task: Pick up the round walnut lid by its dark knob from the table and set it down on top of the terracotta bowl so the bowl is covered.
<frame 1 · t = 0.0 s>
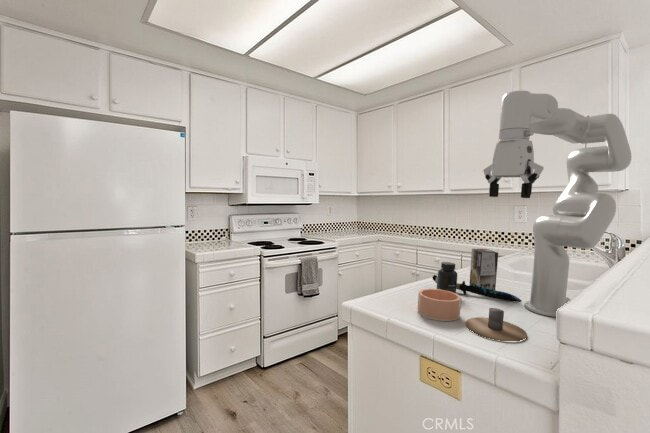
hand: (508, 197, 94), 37 cm above the countertop, tool pointing down, fingers open, 9 cm apart
coffee box: (481, 291, 127), on the countertop
bowl: (438, 313, 101), on the countertop
supplement bottle: (445, 295, 120), on the countertop
lid: (494, 331, 90), on the countertop
knife: (473, 296, 121), on the countertop
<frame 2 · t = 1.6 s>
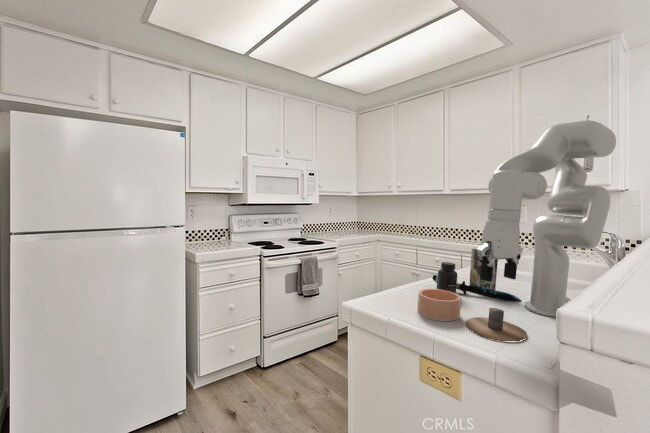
hand: (498, 279, 89), 14 cm above the countertop, tool pointing down, fingers open, 9 cm apart
nothing on the countertop moved.
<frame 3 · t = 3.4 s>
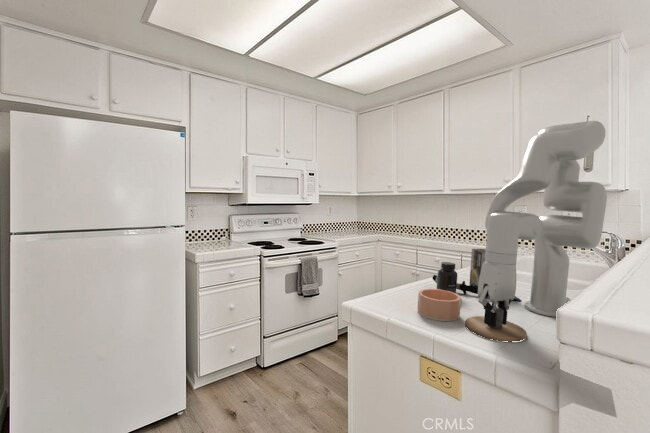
hand: (495, 323, 90), 2 cm above the countertop, tool pointing down, fingers closed on lid, 3 cm apart
lid: (494, 330, 90), on the countertop, touching gripper
everything else where it was.
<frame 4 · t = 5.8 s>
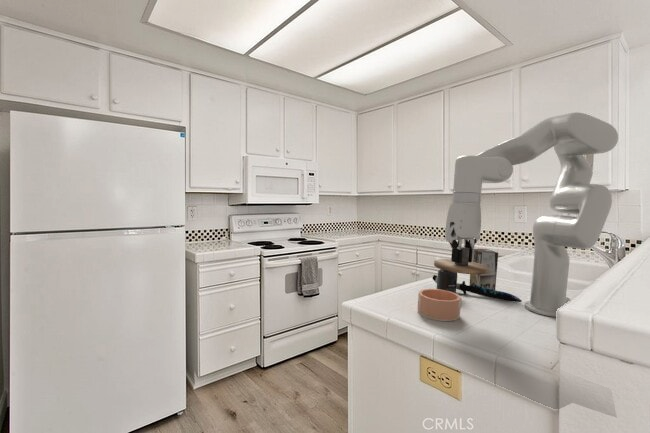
hand: (461, 261, 95), 18 cm above the countertop, tool pointing down, fingers closed on lid, 3 cm apart
lid: (461, 267, 96), point 16 cm above the countertop, touching gripper
everything else where it was.
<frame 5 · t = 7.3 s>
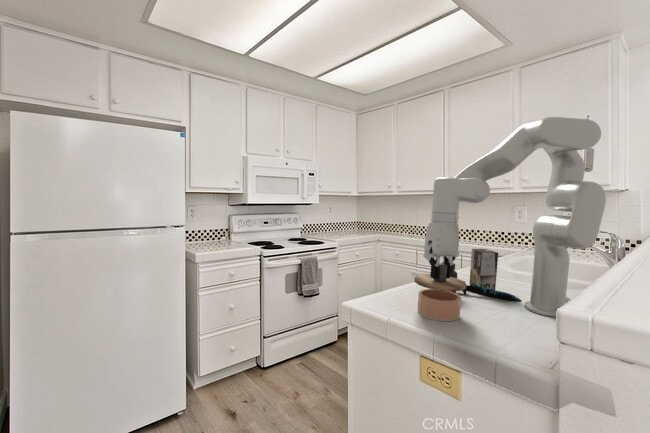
hand: (440, 277, 100), 11 cm above the countertop, tool pointing down, fingers closed on lid, 3 cm apart
lid: (439, 283, 100), point 9 cm above the countertop, touching gripper
everything else where it was.
when the fingers open (9 cm above the countertop, at t = 8.4 s): lid drops 1 cm, resting on bowl.
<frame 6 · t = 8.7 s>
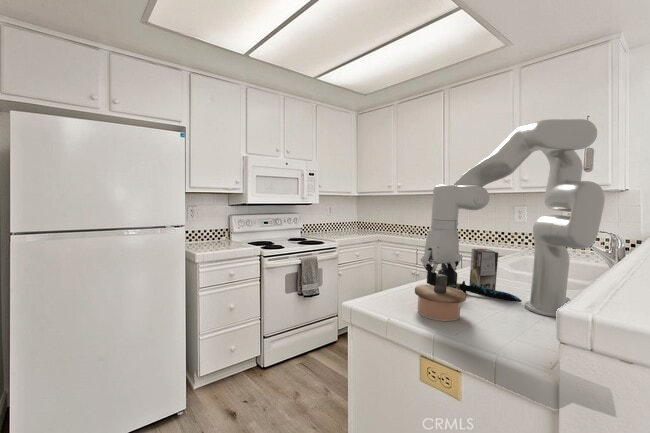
hand: (440, 283, 100), 10 cm above the countertop, tool pointing down, fingers open, 6 cm apart
lid: (439, 294, 101), point 6 cm above the countertop, touching bowl
everything else where it was.
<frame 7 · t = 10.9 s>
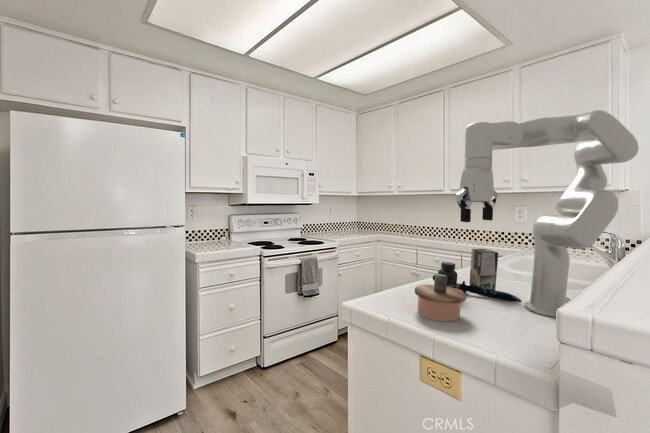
hand: (476, 220, 100), 29 cm above the countertop, tool pointing down, fingers open, 9 cm apart
nothing on the countertop moved.
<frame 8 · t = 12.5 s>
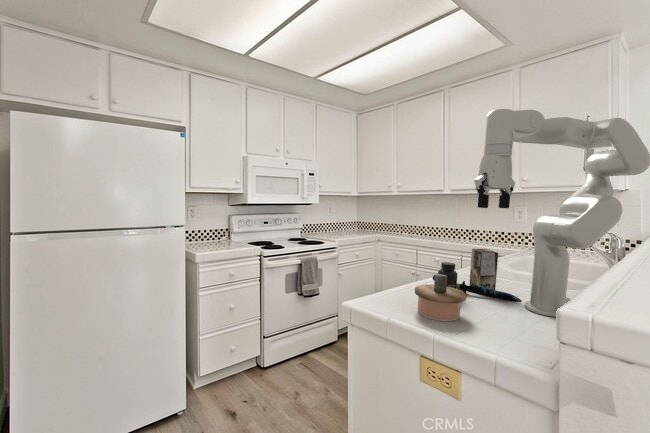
hand: (493, 208, 101), 33 cm above the countertop, tool pointing down, fingers open, 9 cm apart
nothing on the countertop moved.
at the end: lid 0.1 cm off-centre on the bowl, point 6.0 cm above the bowl's base; lid tilted 0°; the gripper is holding nothing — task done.
